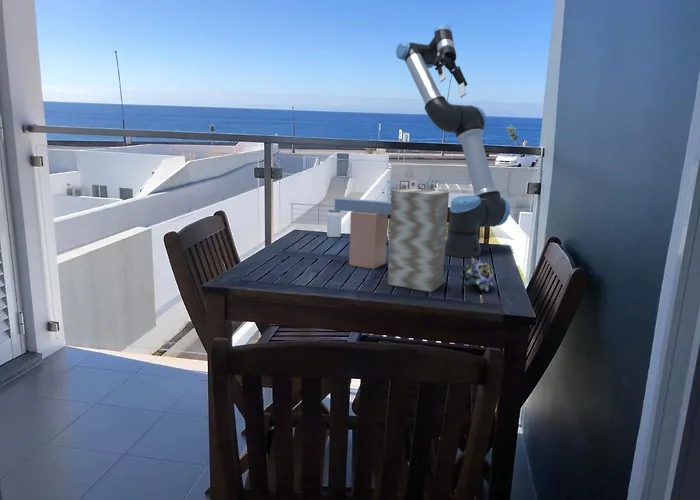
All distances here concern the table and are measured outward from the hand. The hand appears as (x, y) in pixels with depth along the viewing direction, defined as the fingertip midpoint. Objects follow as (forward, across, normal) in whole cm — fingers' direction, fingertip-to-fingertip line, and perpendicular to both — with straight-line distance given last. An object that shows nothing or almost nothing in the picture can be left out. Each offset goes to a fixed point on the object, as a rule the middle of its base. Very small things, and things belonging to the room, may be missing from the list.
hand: (453, 88), depth 220 cm
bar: (+61, -30, +25) cm, 73 cm away
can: (+41, -6, +72) cm, 83 cm away
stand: (+92, -24, +12) cm, 96 cm away
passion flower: (+95, -11, -1) cm, 96 cm away
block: (+75, -22, +35) cm, 86 cm away
